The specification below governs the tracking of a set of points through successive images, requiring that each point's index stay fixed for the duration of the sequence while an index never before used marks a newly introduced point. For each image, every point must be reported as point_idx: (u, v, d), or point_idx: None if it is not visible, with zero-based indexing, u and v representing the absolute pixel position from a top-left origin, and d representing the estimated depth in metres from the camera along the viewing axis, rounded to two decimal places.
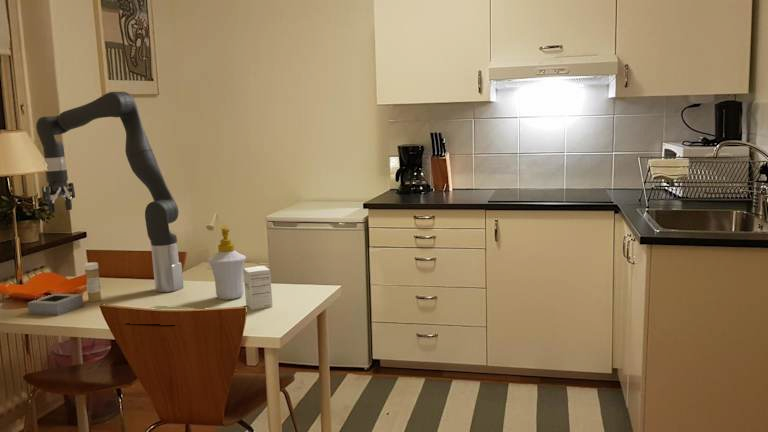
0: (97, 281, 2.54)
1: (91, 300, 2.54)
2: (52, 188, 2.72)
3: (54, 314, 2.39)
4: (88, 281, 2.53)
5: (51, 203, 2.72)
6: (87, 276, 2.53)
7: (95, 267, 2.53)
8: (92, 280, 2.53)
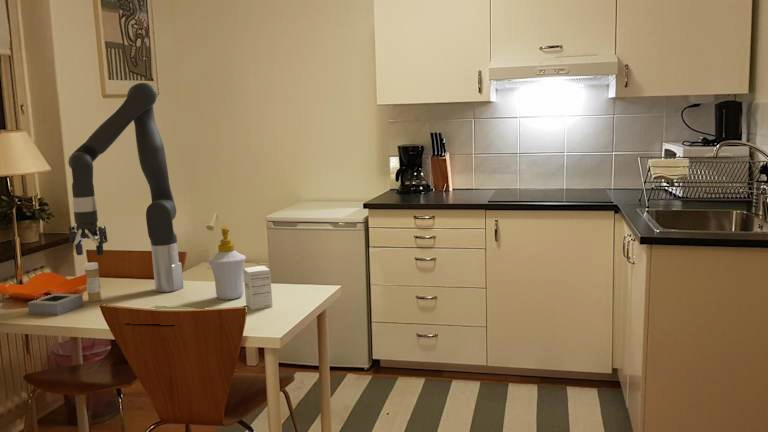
0: (97, 281, 2.54)
1: (91, 300, 2.54)
2: None
3: (54, 314, 2.39)
4: (88, 281, 2.53)
5: (102, 244, 2.53)
6: (87, 276, 2.53)
7: (95, 267, 2.53)
8: (92, 280, 2.53)
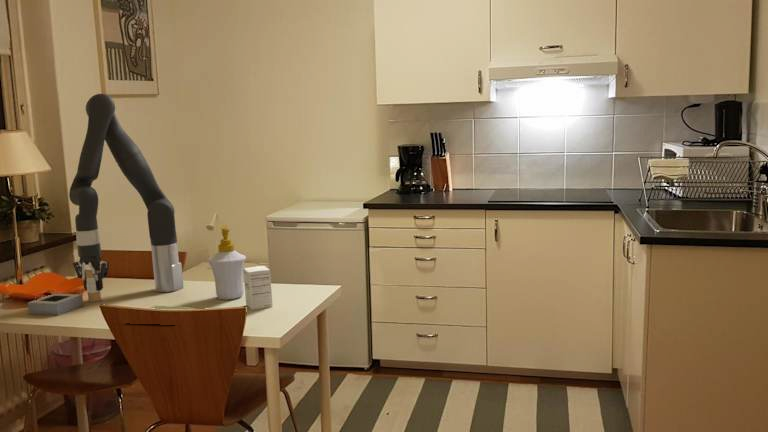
0: None
1: (91, 300, 2.54)
2: None
3: (54, 314, 2.39)
4: (88, 281, 2.53)
5: None
6: (87, 276, 2.53)
7: None
8: (92, 280, 2.53)
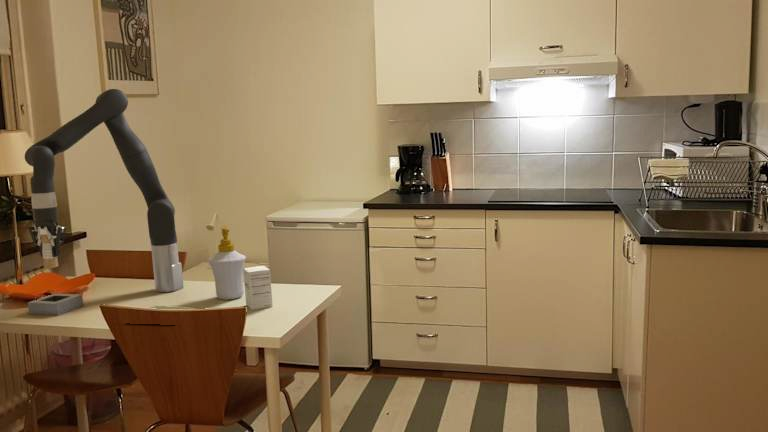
0: None
1: (47, 266, 2.42)
2: None
3: (54, 314, 2.39)
4: (44, 247, 2.41)
5: None
6: (43, 241, 2.41)
7: None
8: (48, 246, 2.41)
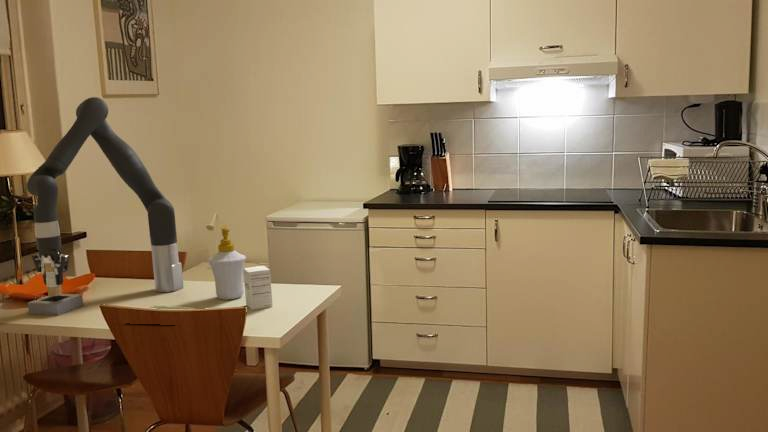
0: None
1: (51, 295, 2.43)
2: None
3: (54, 314, 2.39)
4: (48, 275, 2.42)
5: None
6: (46, 270, 2.42)
7: None
8: (51, 274, 2.42)
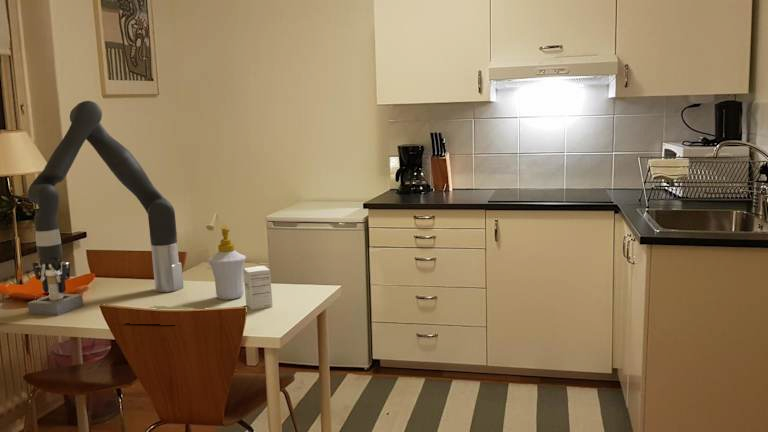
0: None
1: None
2: None
3: (54, 314, 2.39)
4: (50, 288, 2.43)
5: (63, 281, 2.44)
6: (49, 282, 2.43)
7: None
8: (54, 287, 2.43)
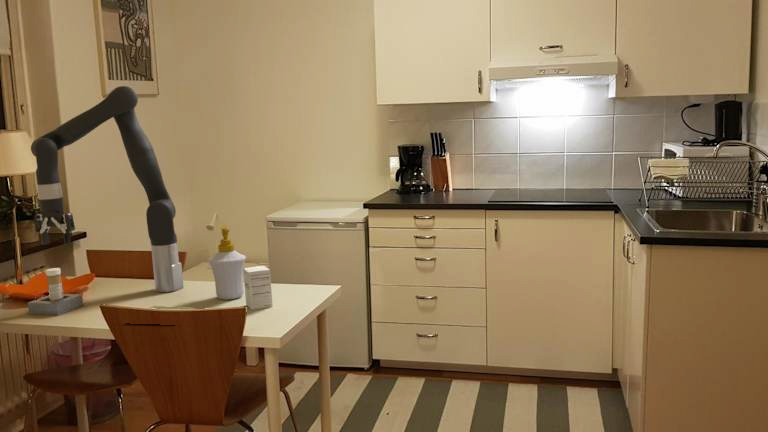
0: (59, 287, 2.44)
1: None
2: None
3: (54, 314, 2.39)
4: (50, 288, 2.43)
5: None
6: (49, 282, 2.42)
7: (57, 273, 2.43)
8: (54, 287, 2.43)
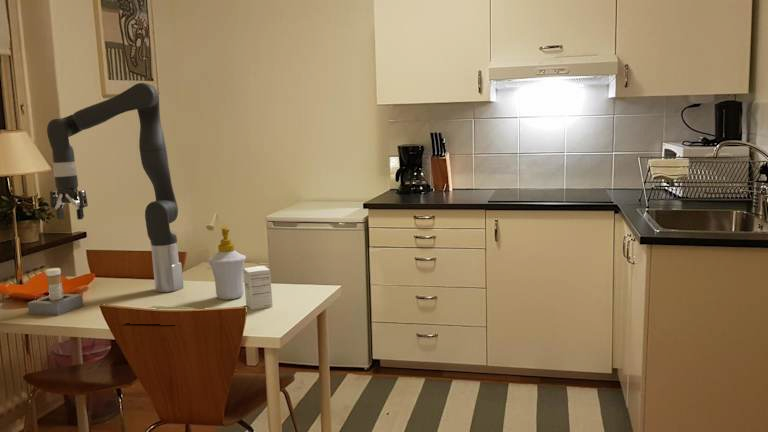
0: (59, 287, 2.44)
1: None
2: None
3: (54, 314, 2.39)
4: (50, 288, 2.43)
5: None
6: (49, 282, 2.42)
7: (57, 273, 2.43)
8: (54, 287, 2.43)
